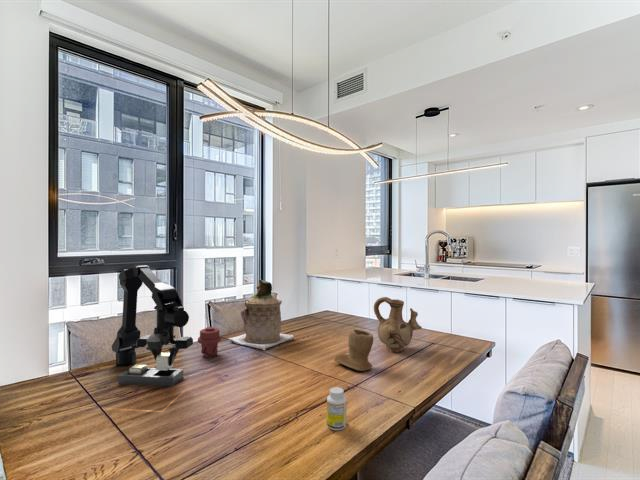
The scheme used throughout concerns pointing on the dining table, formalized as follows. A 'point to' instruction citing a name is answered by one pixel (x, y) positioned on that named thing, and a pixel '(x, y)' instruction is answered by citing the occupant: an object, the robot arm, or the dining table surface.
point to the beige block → (138, 369)
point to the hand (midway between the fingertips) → (164, 365)
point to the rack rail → (152, 377)
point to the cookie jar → (262, 320)
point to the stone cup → (357, 351)
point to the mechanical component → (209, 341)
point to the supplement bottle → (336, 409)
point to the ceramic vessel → (395, 325)
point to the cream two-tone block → (163, 361)
